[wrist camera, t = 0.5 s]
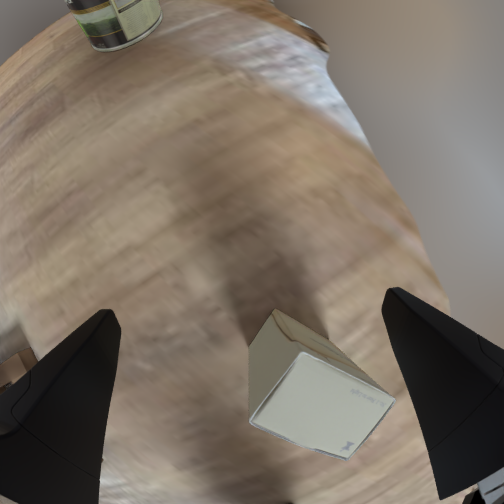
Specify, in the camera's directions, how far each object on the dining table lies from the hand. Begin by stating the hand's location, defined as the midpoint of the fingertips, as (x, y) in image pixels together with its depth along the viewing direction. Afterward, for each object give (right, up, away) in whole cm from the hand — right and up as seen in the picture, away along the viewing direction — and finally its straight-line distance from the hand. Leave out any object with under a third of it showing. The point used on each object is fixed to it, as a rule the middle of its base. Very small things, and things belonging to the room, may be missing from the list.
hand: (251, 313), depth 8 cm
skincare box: (+3, -6, +15) cm, 16 cm away
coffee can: (-16, +31, +16) cm, 39 cm away
